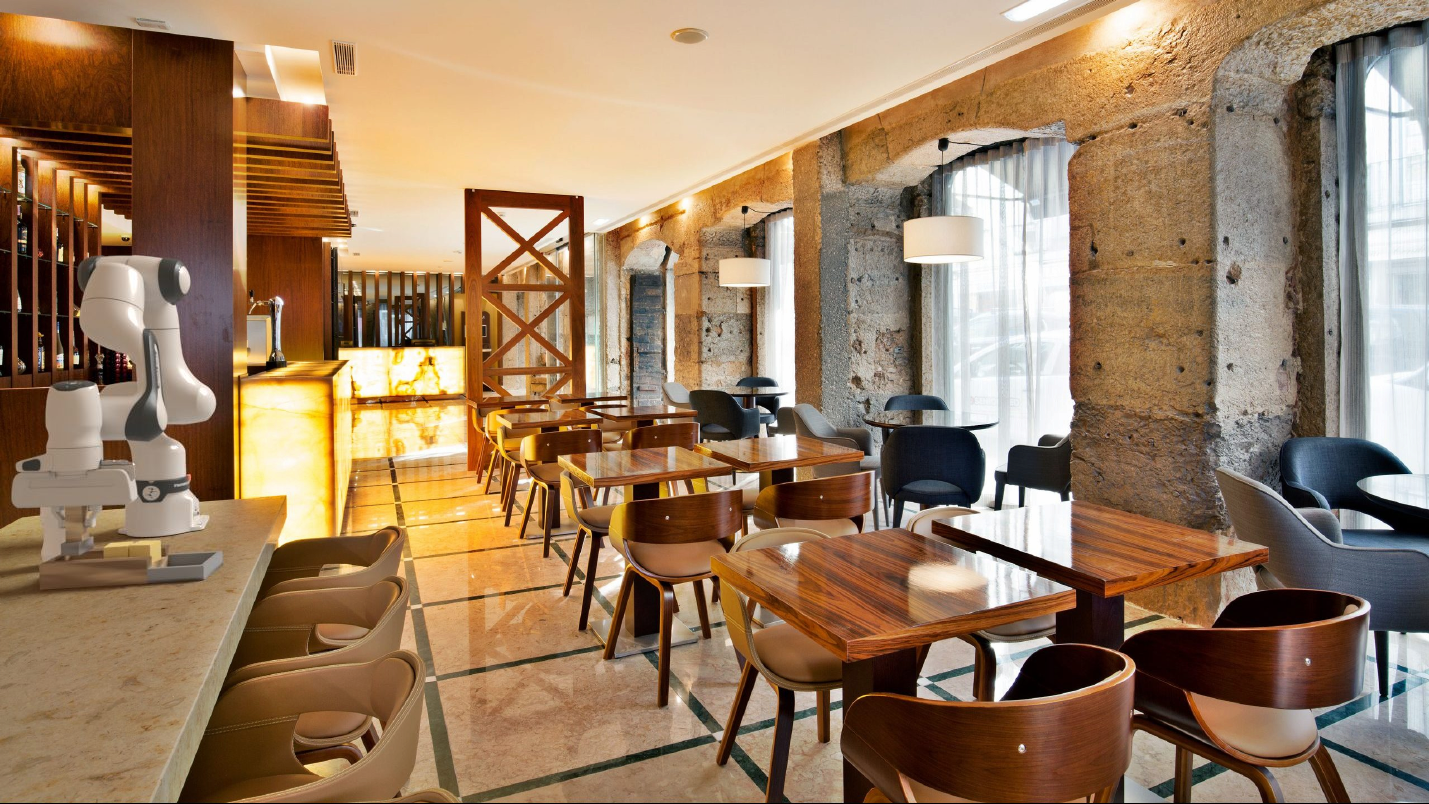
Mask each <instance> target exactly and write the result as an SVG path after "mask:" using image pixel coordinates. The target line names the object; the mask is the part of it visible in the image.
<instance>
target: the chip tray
mask: <svg viewBox="0 0 1429 804" xmlns="http://www.w3.org/2000/svg"><path fill="white" fill-rule="evenodd" d="M223 559H224V557H223V550H218V551H217V550H214V551H200V552H199V551H198V552H196V551H195V552H178V553H176V552H175V553H170V554H169V566H168V567H156V568H148V569H147V583H146V584H158V583H162V584H163V583H174V582H175V583H176V582H177V583H178V582H192V581H193V582H194V581H204V580H206V579H207V578H208V577H209V576H210V575H212V574H213V573H215V571H217V570H218V569H219V568H220V567H222V565H223V564H224V562H223Z"/></svg>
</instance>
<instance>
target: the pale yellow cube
mask: <svg viewBox="0 0 1429 804" xmlns="http://www.w3.org/2000/svg"><path fill="white" fill-rule="evenodd" d="M161 545H162V541H161V539H160V540H159V539H158V540H156V539H155V540H139V541H136V542H133V544H131V545H129V557H144V556H152V563H153V562H156V561H158V560H160V559H161Z"/></svg>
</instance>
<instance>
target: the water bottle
mask: <svg viewBox="0 0 1429 804" xmlns="http://www.w3.org/2000/svg"><path fill="white" fill-rule="evenodd" d="M39 508H40V510H39V513H40V514H39V522H40V524H41V526H42V529H43V542H42V543H43V544H42V548H41V550H40V556H41V561H42V563H44V562H46V561H48V560H50V559H52V558H54V557H56V556H58V555H60V554H61V544H62V543H64V542H66V540H65V528H62V529H59V528H58V520H57V519H56V518H55V517H54V515H53V514H52V513H51V507H39ZM62 512H63V514H64V515H65V510H63V511H62Z"/></svg>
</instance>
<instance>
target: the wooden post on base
mask: <svg viewBox="0 0 1429 804" xmlns="http://www.w3.org/2000/svg"><path fill="white" fill-rule="evenodd" d="M86 518H89V506H65V540H66V542H64V543H62V544H61V556H76V555H81V554H83V553H85V552H87V551H89V550H91V549H93V548H95V546H94V545H95V544H94V536H90V527H86V528H84V526H83V525H84V523H83V519H86Z"/></svg>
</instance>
